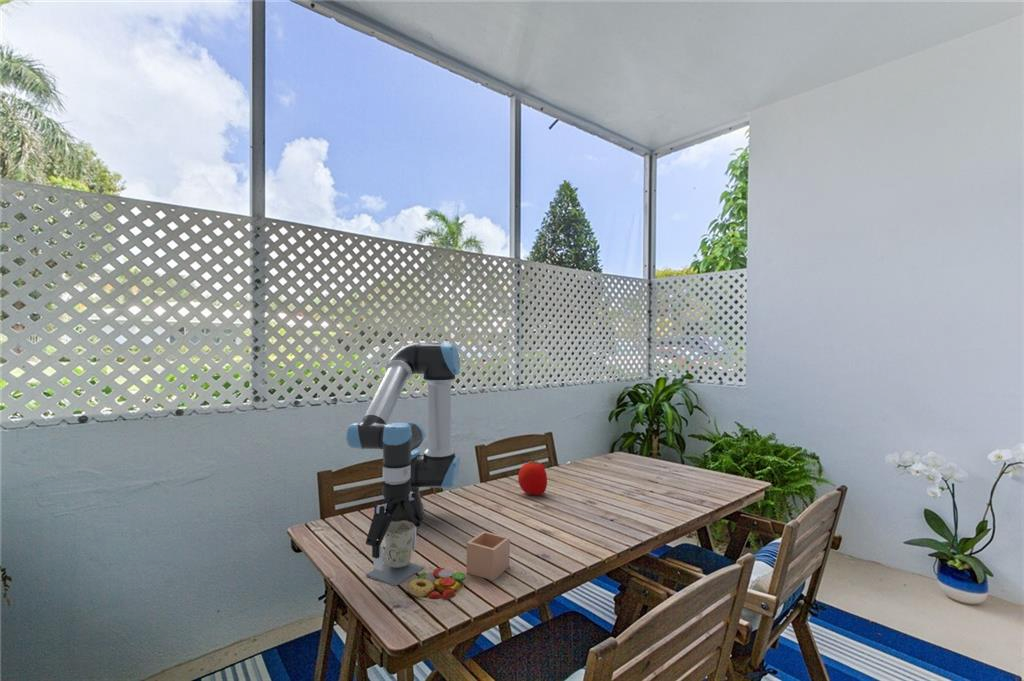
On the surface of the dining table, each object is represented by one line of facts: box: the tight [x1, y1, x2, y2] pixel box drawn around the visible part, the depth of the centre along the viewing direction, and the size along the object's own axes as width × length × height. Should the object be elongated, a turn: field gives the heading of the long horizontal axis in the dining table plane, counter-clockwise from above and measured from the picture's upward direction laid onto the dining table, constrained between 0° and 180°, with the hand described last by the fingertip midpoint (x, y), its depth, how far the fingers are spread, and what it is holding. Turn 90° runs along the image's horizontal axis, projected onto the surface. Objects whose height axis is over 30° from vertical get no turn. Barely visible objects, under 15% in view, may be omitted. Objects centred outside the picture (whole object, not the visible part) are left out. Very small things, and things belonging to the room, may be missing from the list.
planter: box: [466, 530, 511, 581], centre depth 122 cm, size 9×9×9 cm
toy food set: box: [407, 567, 467, 603], centre depth 114 cm, size 13×13×3 cm
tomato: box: [517, 460, 548, 496], centre depth 186 cm, size 13×11×14 cm
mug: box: [383, 520, 415, 568], centre depth 122 cm, size 8×13×10 cm, turn 168°
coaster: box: [365, 561, 425, 587], centre depth 122 cm, size 11×11×1 cm
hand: (395, 558), depth 122 cm, fingers closed on mug, 12 cm apart
